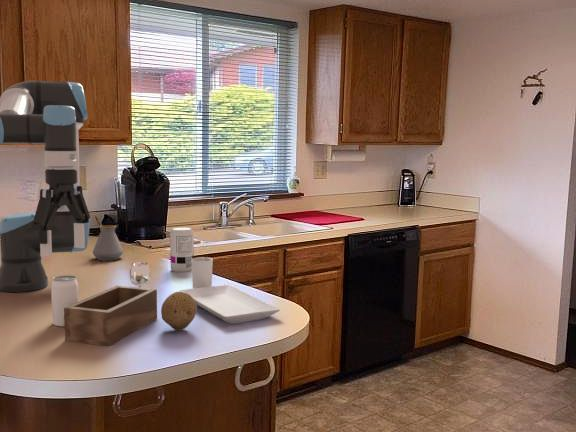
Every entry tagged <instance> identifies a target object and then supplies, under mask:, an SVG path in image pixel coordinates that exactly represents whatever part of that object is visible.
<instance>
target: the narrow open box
mask: <svg viewBox="0 0 576 432" xmlns="http://www.w3.org/2000/svg"><path fill="white" fill-rule="evenodd" d="M157 319H158V291H157V289H156V288H146V287H141V288H138V287H137V286H126V285H115V286H113V287H109V288H107V289H105V290H103V291H101V292H98V293H96V294H93V295H91V296H89V297H86V298H84V299H82V300H78V302H76V303H74V304H72V305H69V306H67V307H64V326H65V327H64V341H67V342H74V343H81V344H90V345H99V346H106V347H111V346H113V345H115V344H116V343H118V342H119V341H121V340H122V339H125V338H126V337H128V336H129V335H131V334H133V333H136V332H137V331H138V330H140V329H142V328H143V327H146V326H147V325H149V324H150V323H152V322H154V321H155V320H157Z"/></svg>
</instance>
